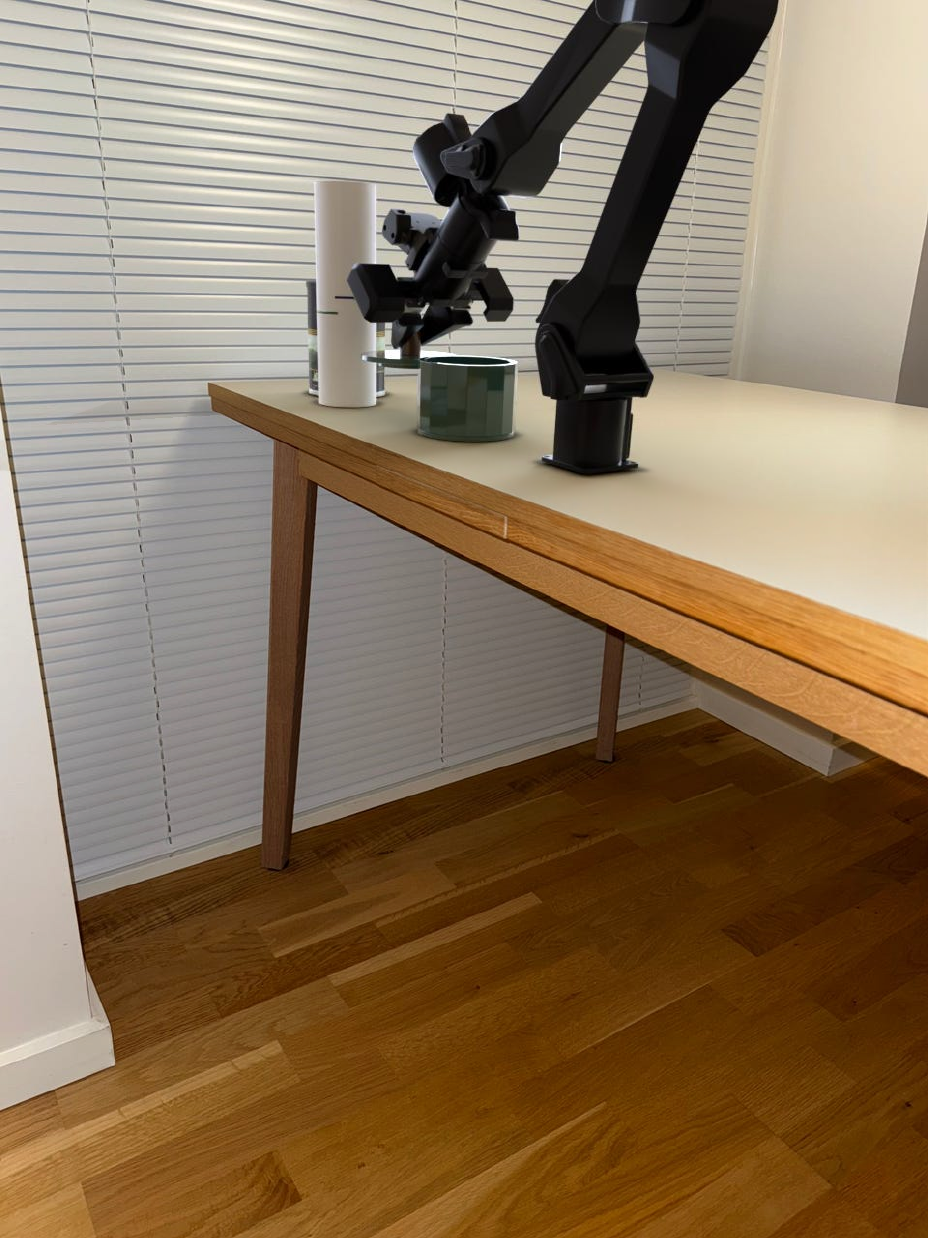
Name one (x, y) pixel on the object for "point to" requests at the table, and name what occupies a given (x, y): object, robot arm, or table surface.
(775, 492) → the table surface
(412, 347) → the lid
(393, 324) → the robot arm
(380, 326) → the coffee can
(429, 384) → the pot
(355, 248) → the cylindrical container
